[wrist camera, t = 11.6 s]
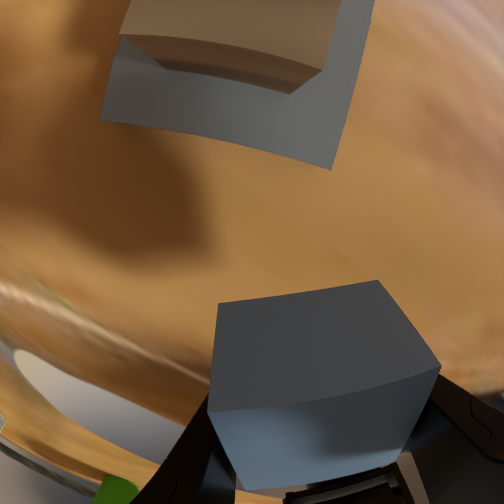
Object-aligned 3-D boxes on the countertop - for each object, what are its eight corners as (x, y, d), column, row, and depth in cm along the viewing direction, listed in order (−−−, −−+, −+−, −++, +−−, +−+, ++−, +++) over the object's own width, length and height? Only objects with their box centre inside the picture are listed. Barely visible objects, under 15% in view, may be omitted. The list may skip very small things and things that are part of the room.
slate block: (363, 383, 11) (394, 462, 7) (243, 403, 11) (245, 490, 7) (377, 279, 9) (441, 365, 5) (218, 303, 9) (207, 411, 5)
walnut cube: (289, 94, 10) (322, 70, 6) (166, 69, 10) (118, 34, 5) (317, -3, 8) (356, -61, 4) (201, -27, 8) (182, -93, 3)
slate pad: (319, 164, 13) (330, 170, 11) (116, 120, 12) (98, 120, 10) (363, -4, 10) (378, -19, 8) (174, -45, 8) (166, -63, 6)
